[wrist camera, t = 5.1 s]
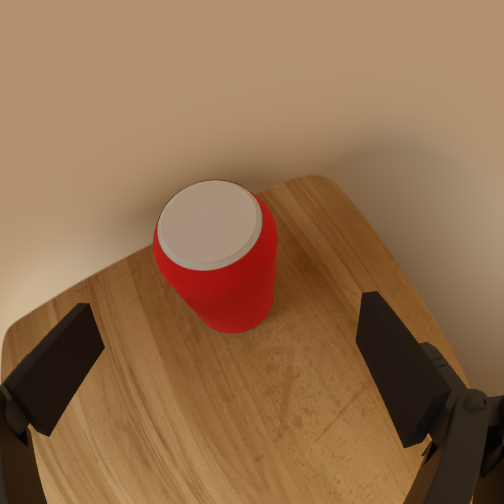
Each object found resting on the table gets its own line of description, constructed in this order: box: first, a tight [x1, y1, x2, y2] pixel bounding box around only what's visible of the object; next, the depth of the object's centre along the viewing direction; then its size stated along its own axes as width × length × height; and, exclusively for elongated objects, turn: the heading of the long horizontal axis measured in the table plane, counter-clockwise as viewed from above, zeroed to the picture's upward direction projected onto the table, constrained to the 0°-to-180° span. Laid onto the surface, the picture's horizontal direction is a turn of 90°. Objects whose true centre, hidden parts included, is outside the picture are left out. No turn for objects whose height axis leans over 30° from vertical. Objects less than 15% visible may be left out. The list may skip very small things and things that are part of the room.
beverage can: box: [153, 180, 278, 333], centre depth 18 cm, size 6×6×12 cm
